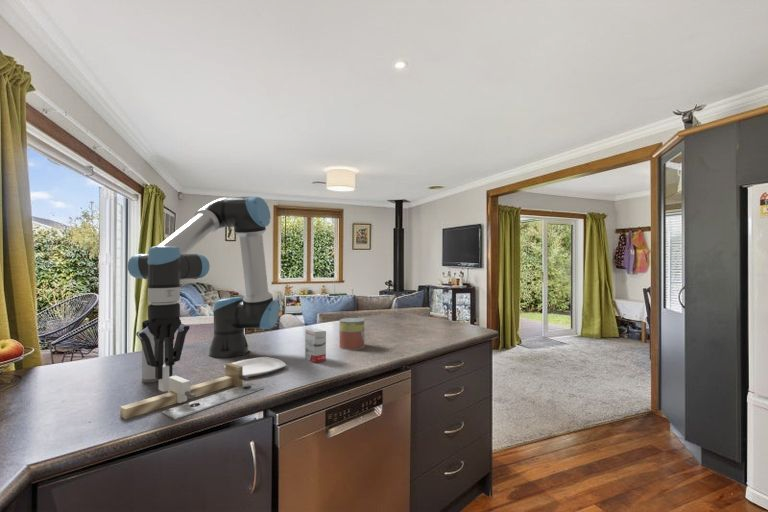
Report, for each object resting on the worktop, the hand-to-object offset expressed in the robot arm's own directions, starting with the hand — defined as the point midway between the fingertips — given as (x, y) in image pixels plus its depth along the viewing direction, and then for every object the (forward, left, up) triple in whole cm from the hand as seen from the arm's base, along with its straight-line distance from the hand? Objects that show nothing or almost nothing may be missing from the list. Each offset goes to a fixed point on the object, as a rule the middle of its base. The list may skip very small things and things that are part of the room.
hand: (163, 389), depth 99 cm
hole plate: (+8, +10, -4) cm, 14 cm away
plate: (-7, +34, -5) cm, 35 cm away
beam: (+3, +6, -4) cm, 8 cm away
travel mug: (-25, +8, -4) cm, 27 cm away
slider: (+3, +4, -4) cm, 6 cm away
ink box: (+2, +55, -5) cm, 55 cm away
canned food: (0, +79, -5) cm, 79 cm away
